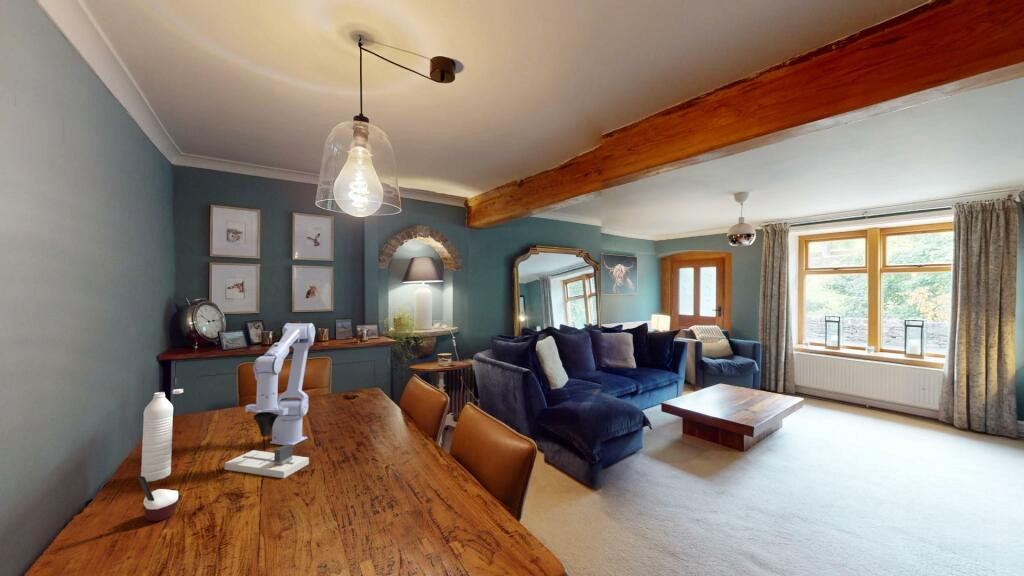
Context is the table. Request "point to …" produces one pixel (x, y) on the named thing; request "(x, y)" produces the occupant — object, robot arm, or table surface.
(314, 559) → the table surface
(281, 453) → the fader tab
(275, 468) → the fader console
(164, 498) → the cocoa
